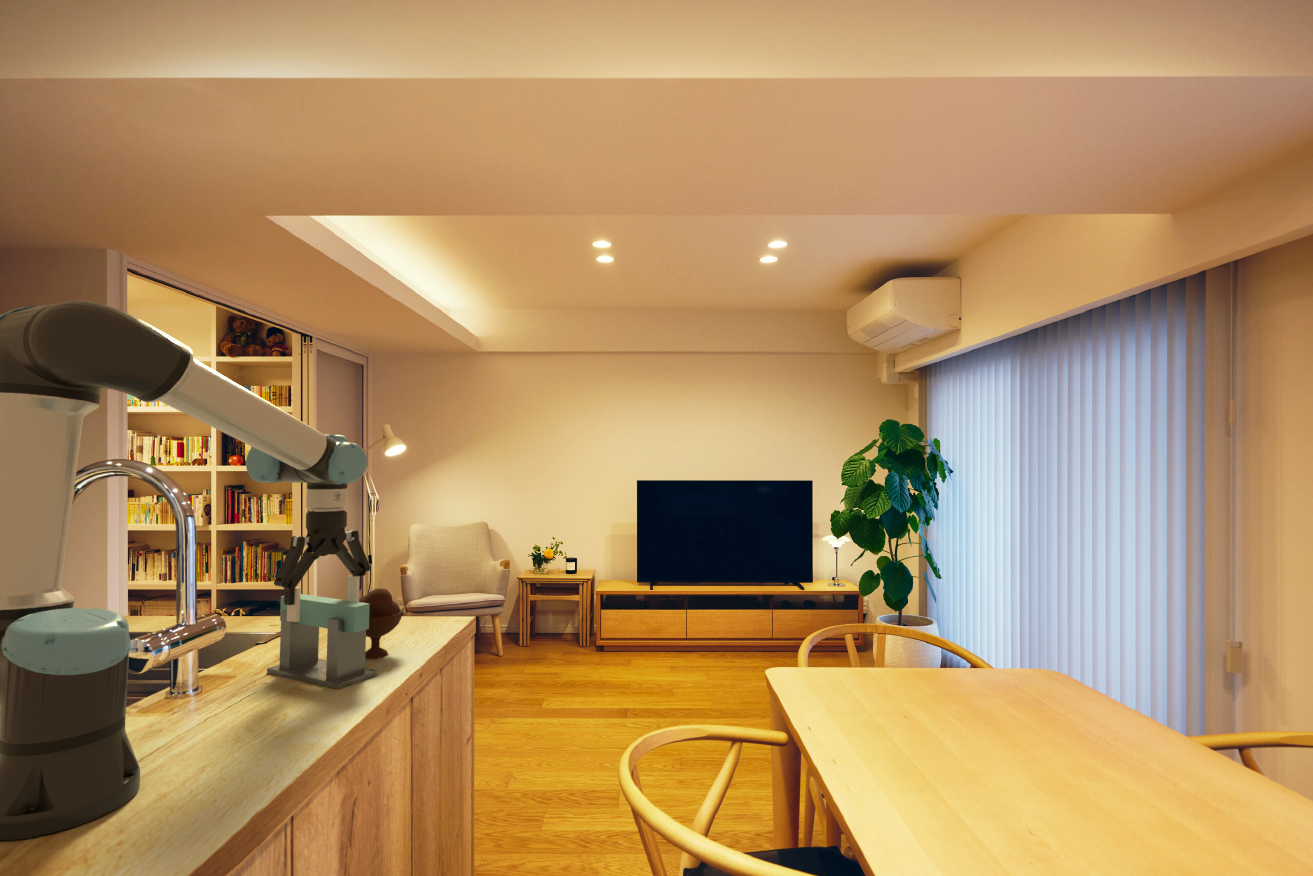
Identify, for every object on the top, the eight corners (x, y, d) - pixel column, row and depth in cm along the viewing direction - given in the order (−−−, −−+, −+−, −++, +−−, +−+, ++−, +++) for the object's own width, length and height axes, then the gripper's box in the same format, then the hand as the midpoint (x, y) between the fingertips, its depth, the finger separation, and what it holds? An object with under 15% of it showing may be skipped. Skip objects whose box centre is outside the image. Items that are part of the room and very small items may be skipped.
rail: (368, 629, 127) (369, 603, 127) (353, 633, 123) (354, 607, 124) (295, 616, 136) (296, 593, 136) (280, 620, 133) (280, 596, 133)
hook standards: (338, 689, 121) (340, 622, 121) (266, 673, 130) (269, 611, 130) (376, 675, 129) (378, 613, 129) (307, 661, 138) (309, 602, 138)
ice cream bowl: (409, 649, 147) (411, 584, 148) (384, 664, 136) (386, 593, 137) (366, 647, 148) (368, 582, 149) (337, 662, 137) (340, 592, 138)
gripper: (280, 514, 118) (277, 630, 117) (389, 506, 140) (387, 603, 140) (254, 513, 121) (251, 625, 120) (364, 505, 144) (362, 599, 143)
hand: (324, 613), depth 130 cm, fingers open, 13 cm apart
